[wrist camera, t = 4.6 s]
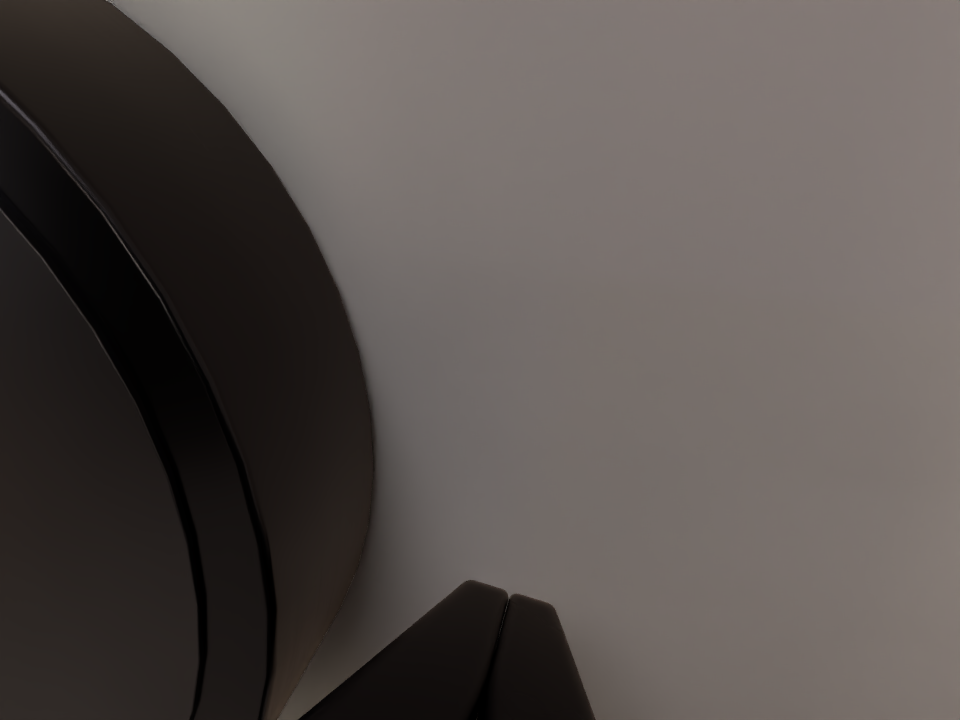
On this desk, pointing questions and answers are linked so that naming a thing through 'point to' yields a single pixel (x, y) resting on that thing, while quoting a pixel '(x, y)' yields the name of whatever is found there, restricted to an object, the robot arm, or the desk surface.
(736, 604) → the desk surface
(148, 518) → the pan
